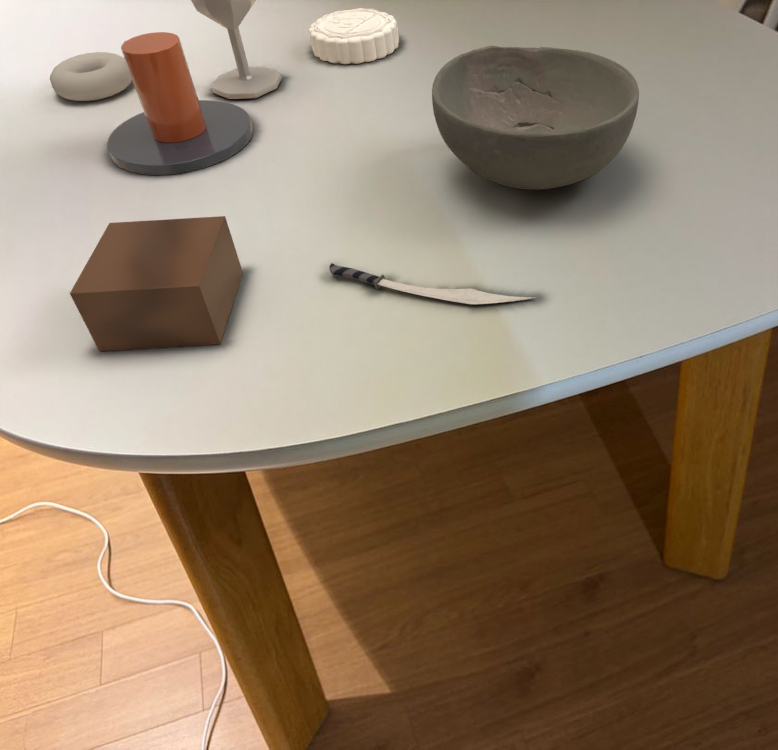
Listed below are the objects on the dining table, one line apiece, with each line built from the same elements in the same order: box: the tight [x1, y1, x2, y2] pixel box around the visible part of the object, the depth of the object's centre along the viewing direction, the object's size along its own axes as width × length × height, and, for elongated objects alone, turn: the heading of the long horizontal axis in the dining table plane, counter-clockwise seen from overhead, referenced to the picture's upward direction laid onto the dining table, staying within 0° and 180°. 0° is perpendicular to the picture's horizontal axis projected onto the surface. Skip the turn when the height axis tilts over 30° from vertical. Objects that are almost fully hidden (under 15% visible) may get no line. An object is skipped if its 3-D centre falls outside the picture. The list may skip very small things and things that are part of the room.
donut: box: [49, 51, 133, 102], centre depth 103 cm, size 10×4×10 cm
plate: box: [106, 99, 254, 176], centre depth 92 cm, size 16×16×1 cm
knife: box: [328, 262, 537, 305], centre depth 70 cm, size 19×2×1 cm, turn 74°
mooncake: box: [308, 7, 400, 65], centre depth 110 cm, size 12×12×4 cm
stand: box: [69, 215, 244, 352], centre depth 67 cm, size 10×10×6 cm
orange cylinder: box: [120, 31, 206, 143], centre depth 88 cm, size 6×6×10 cm
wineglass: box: [190, 0, 283, 100], centre depth 96 cm, size 9×9×21 cm
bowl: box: [431, 45, 640, 190], centre depth 81 cm, size 20×20×10 cm
